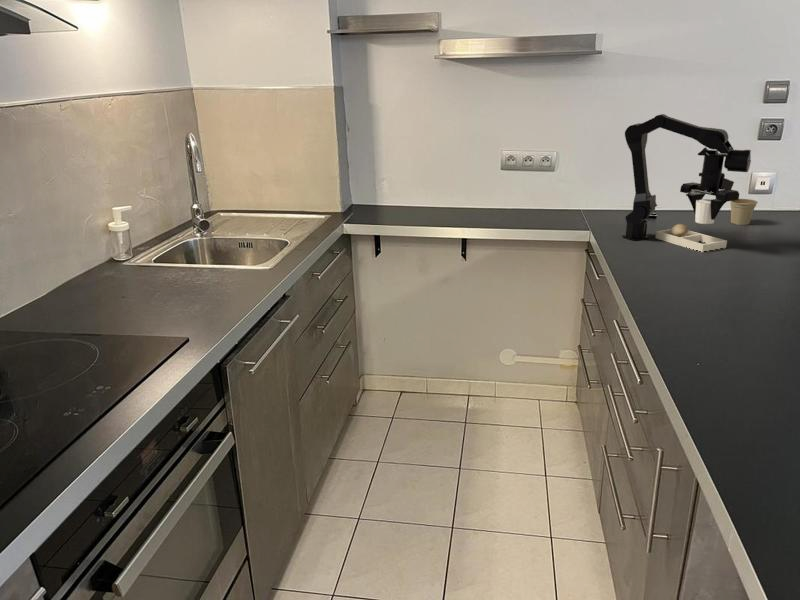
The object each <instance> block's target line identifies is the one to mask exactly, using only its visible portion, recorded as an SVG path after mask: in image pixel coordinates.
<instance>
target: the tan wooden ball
mask: <svg viewBox="0 0 800 600" xmlns="http://www.w3.org/2000/svg"><path fill="white" fill-rule="evenodd" d="M670 229H671V235H673V236H677V237H685V236H687V235H688V230H689V229H688V227H687V225H685V224H682V223H677V224H674V225H673V226H672V228H670Z"/></svg>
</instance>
